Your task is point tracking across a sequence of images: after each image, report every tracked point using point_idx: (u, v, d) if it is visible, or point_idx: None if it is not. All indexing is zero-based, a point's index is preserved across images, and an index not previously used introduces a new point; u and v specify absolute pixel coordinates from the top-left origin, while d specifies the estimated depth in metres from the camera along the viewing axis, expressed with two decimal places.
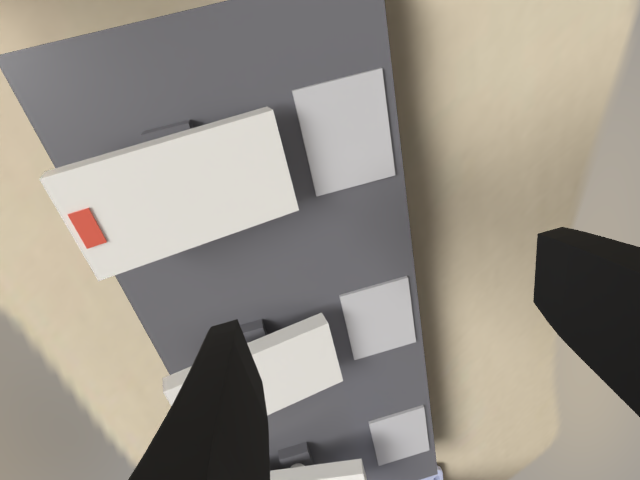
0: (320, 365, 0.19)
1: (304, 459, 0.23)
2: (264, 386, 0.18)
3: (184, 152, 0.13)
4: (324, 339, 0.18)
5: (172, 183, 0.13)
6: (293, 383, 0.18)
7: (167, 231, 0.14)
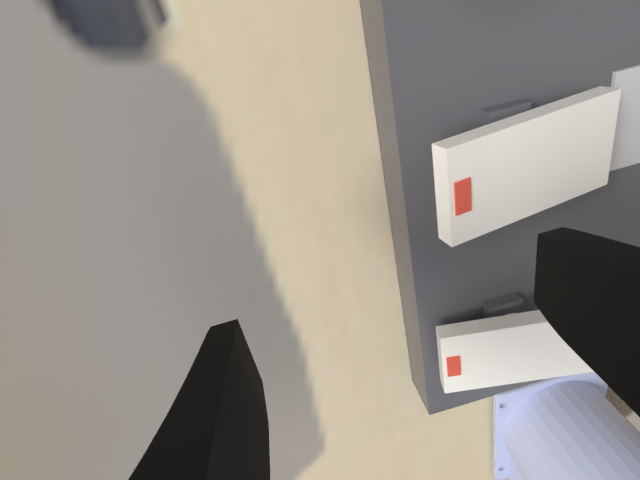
0: (595, 153, 0.15)
1: (515, 311, 0.20)
2: (538, 170, 0.15)
3: None
4: (610, 114, 0.15)
5: None
6: (564, 173, 0.15)
7: None
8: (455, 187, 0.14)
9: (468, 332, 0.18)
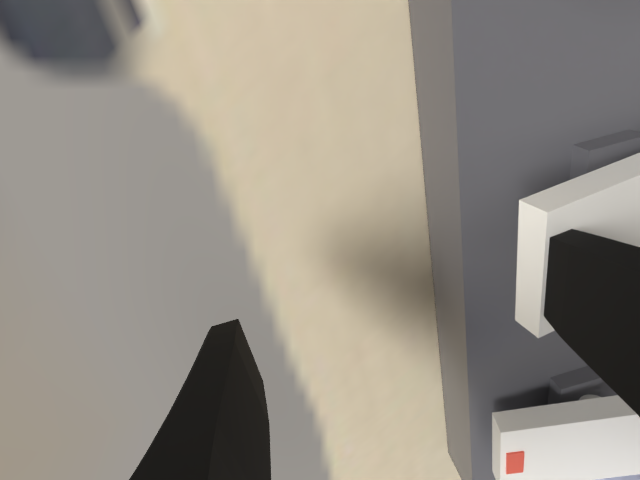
0: None
1: (592, 390, 0.15)
2: None
3: None
4: None
5: None
6: None
7: None
8: None
9: (537, 425, 0.14)
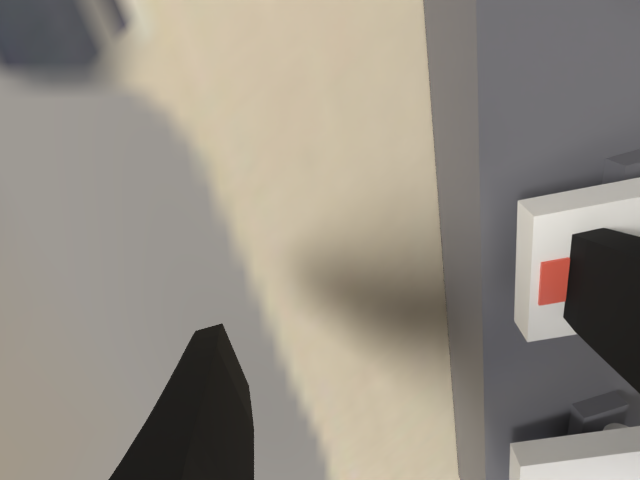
0: None
1: (617, 418, 0.14)
2: None
3: None
4: None
5: None
6: None
7: None
8: (542, 269, 0.09)
9: (560, 458, 0.13)
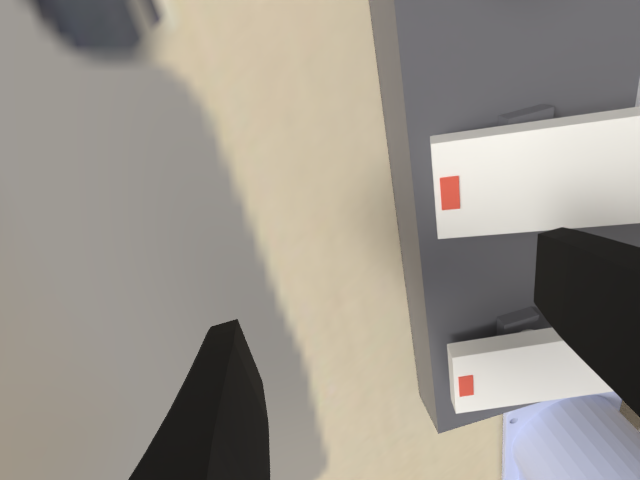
0: None
1: (531, 327, 0.18)
2: (551, 184, 0.13)
3: None
4: None
5: None
6: (591, 195, 0.13)
7: None
8: (440, 182, 0.14)
9: (482, 351, 0.17)
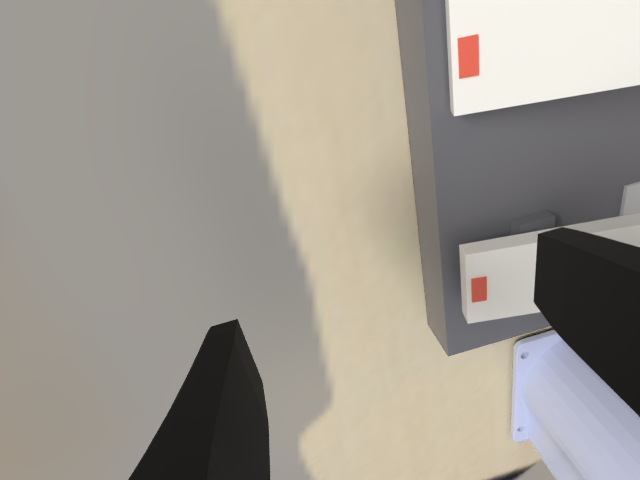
0: None
1: None
2: (576, 38, 0.13)
3: None
4: None
5: None
6: (617, 49, 0.13)
7: None
8: (458, 43, 0.13)
9: (497, 248, 0.16)
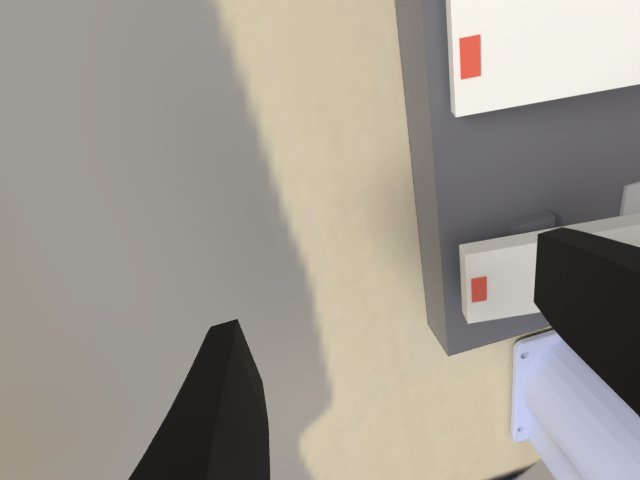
0: None
1: None
2: (577, 38, 0.13)
3: None
4: None
5: None
6: (618, 49, 0.13)
7: None
8: (460, 44, 0.13)
9: (497, 248, 0.16)
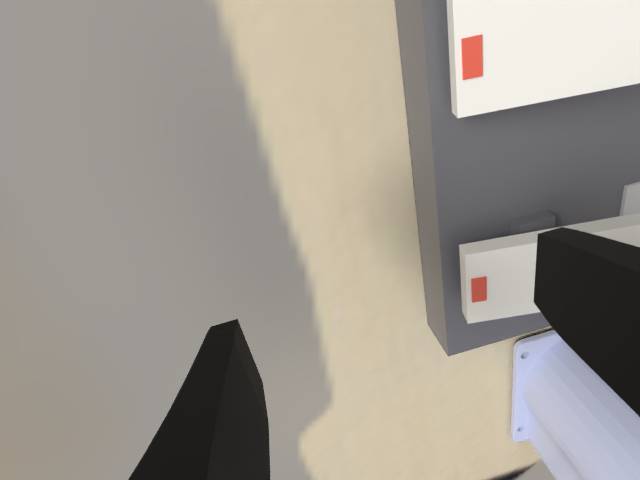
0: None
1: None
2: (578, 38, 0.13)
3: None
4: None
5: None
6: (618, 49, 0.13)
7: None
8: (462, 44, 0.13)
9: (497, 248, 0.16)
